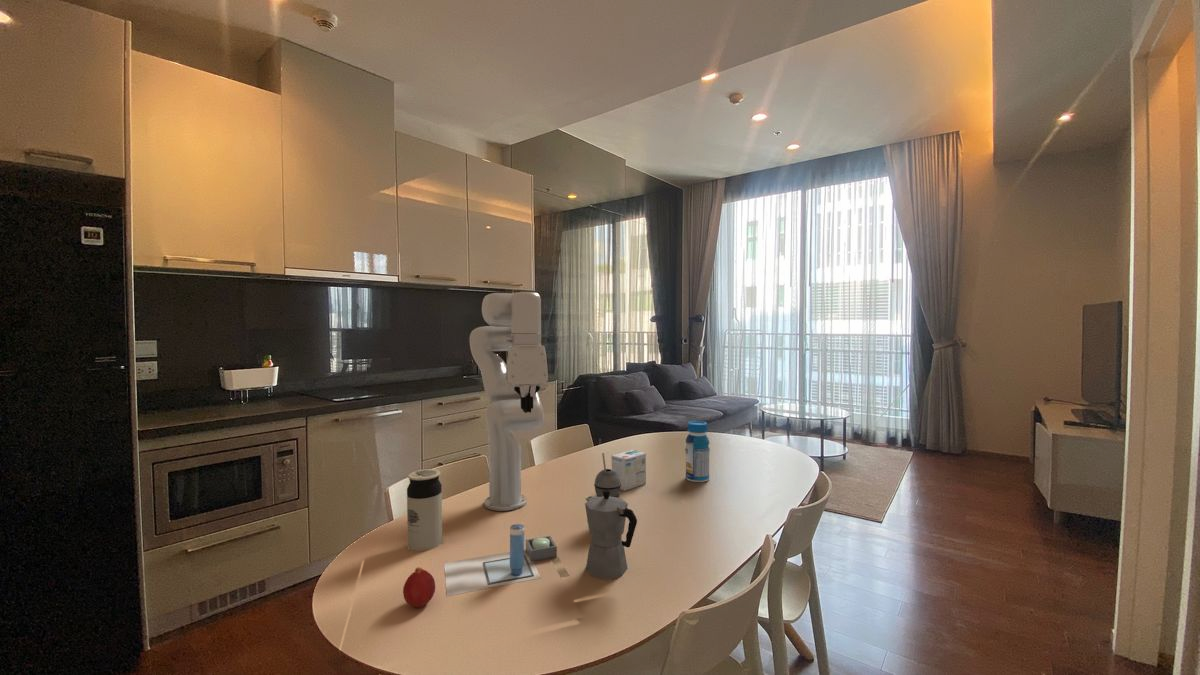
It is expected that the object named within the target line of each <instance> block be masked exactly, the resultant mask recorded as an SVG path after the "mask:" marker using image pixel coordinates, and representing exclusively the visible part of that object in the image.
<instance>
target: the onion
mask: <svg viewBox="0 0 1200 675" xmlns="http://www.w3.org/2000/svg"><path fill="white" fill-rule="evenodd" d="M435 592H436V582H435V579H434V576H433V575H432V574H431V573H430V572H429V571H427V570H425V569H423V568H422V567H420V566H418V567H416V568H415V569H414V572H412V573H411V574H410V575H408V577H407V579H406V580H405V582H404V585H403V589H402V593H403V594H402V595H403V599H404V601H405V602H406V603H407V604H408V605H410V606H411V607H414V608H416V609H417V608H423V607H424V606H425V605H427V604H428V603H429V602H430V601H431V600H432V598H434V597H433V596H434V594H435Z"/></svg>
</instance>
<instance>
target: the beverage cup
mask: <svg viewBox="0 0 1200 675" xmlns="http://www.w3.org/2000/svg"><path fill="white" fill-rule="evenodd" d="M601 454H602V462H603V469H602V470H600V471H599V472H598V473H597V474H596V476H595V480H594V484H593V485H594V486H593V487H594V491H595V495H596V496H595V497H603V490H609V491H610V494H609V496H611V497H617V498H620V493H621V492H620V491H621V489H620V486H621V483H620V478H619V476H618V474H617V473H616V472H615V471H613V470H612V468H611V469H610V468H607V467H606V465H607V464H606V458H605V453H604V452H602V453H601Z"/></svg>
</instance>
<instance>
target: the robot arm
mask: <svg viewBox="0 0 1200 675" xmlns="http://www.w3.org/2000/svg"><path fill="white" fill-rule="evenodd" d="M541 299H542V297H541V296H540V294H539V293H538V292H534V291H519V292H518V291H517V292H513V293H509V292H493V293H489V294H486V295H484V297H483V299H482V303H481V304H482V305H481V314H482V318H483V320H484V322H486V323H487V325H485V326H478V327H475V328H474V329H473V330H472V331H471V332H470V334H469V347H470V348H469V349H470V351H471V355H472V359H473V361H474V362H475V363H476V365H477V366H478V369H479V370H480V373H481V378H482V382H483V384H482V385H483V389H484V393H485V396H486V398H487V400H488V401H489V402H490V403H489V404H488V405H487V407H486V409H485V416H484V417H485V421H486V422H485V423H486V428H487V435H488V437H487V438H488V464H489V466H488V467H489V469H488V472H489V485H488V486H489V496H488V497H486V498H485V499H484V504H483V506H484V507H485V508H486V509H488V510H489V511H490V510H491V511H497V512H505V511H506V512H508V511H514V510H517V509H520V508H521V507H524V506H525V505H526V504H527V496H526V495H524V494H522V448H521V447H522V446H521V443H520V441H519V439H517V437H516V436H515V435H514V434H513V433H514V432H517V431H526V430H533V429H538V428H539V427H541V426H542V425H543V423H544V419H545V414H544V407H543V404H542V401H541V398H540V394H539V391H541V390H543V389H547V388H548V380H549V374H548V372H549V371H548V362H547V361H548V360H547V353H546V347H545V345H542V302H541V301H542V300H541ZM495 352H507V356H506V357H507V358H506V362H505V360H504V359H502V357H501V356H499V355H498V354H496V353H495Z"/></svg>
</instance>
